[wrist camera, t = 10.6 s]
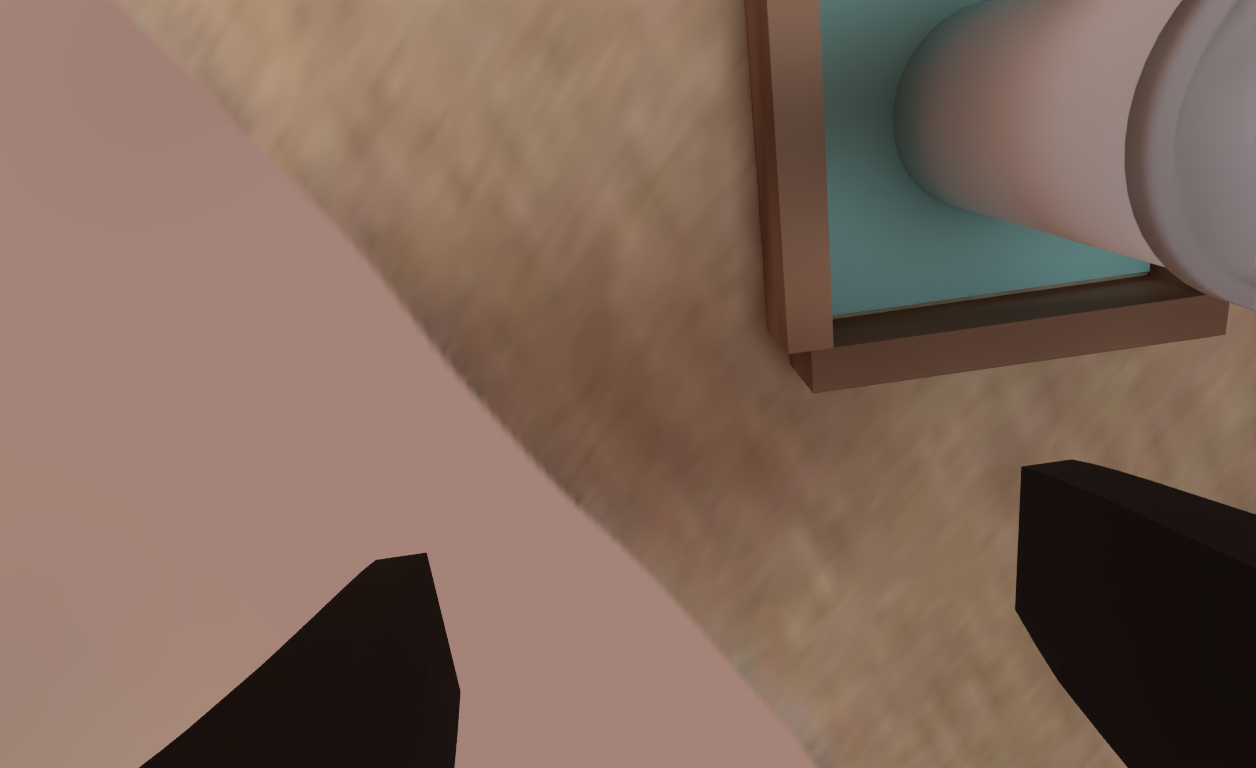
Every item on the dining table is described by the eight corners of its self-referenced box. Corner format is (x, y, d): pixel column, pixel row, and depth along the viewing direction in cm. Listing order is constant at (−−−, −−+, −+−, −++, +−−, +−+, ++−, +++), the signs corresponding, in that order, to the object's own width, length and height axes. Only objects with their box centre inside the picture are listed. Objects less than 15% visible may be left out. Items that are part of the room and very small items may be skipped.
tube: (1091, 202, 19) (1511, 287, 10) (886, 231, 19) (1140, 341, 10) (1105, -27, 17) (1616, -147, 9) (881, 4, 17) (1176, -87, 9)
